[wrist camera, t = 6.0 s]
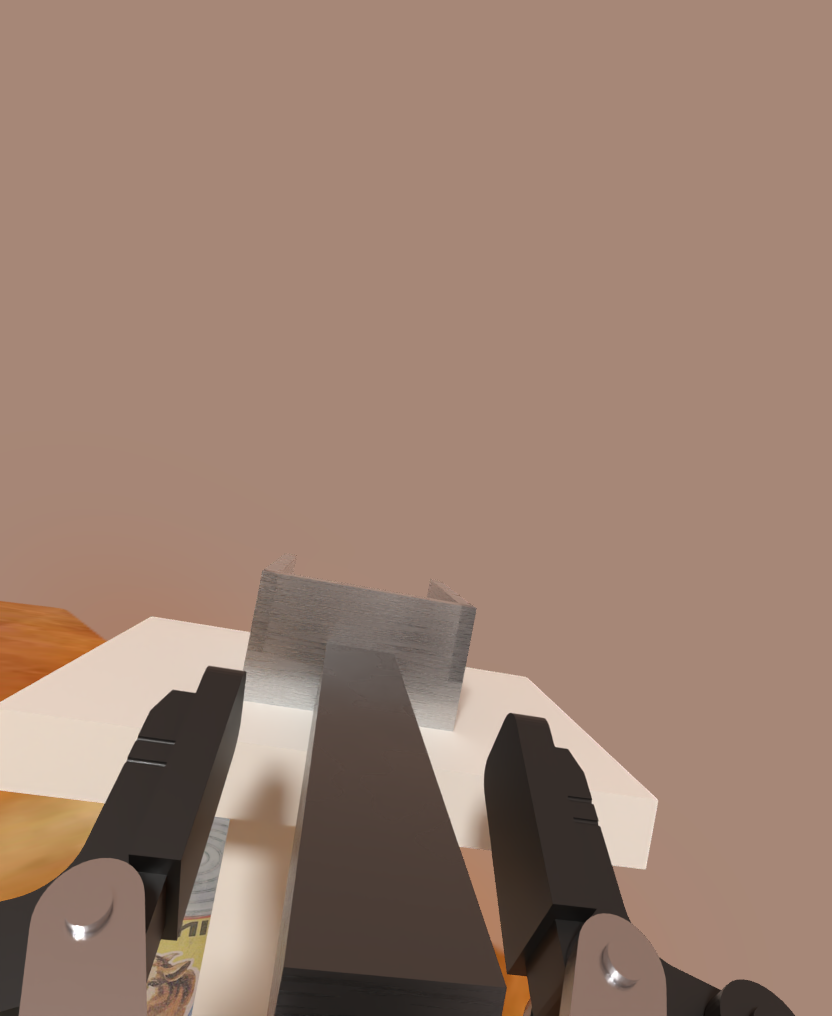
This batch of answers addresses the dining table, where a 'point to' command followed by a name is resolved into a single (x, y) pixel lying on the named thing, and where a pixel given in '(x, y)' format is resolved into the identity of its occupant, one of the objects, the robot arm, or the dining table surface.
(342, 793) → the brushed metal dustpan
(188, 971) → the canned food
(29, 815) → the dining table surface
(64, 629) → the dining table surface
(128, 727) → the white i-beam pedestal
